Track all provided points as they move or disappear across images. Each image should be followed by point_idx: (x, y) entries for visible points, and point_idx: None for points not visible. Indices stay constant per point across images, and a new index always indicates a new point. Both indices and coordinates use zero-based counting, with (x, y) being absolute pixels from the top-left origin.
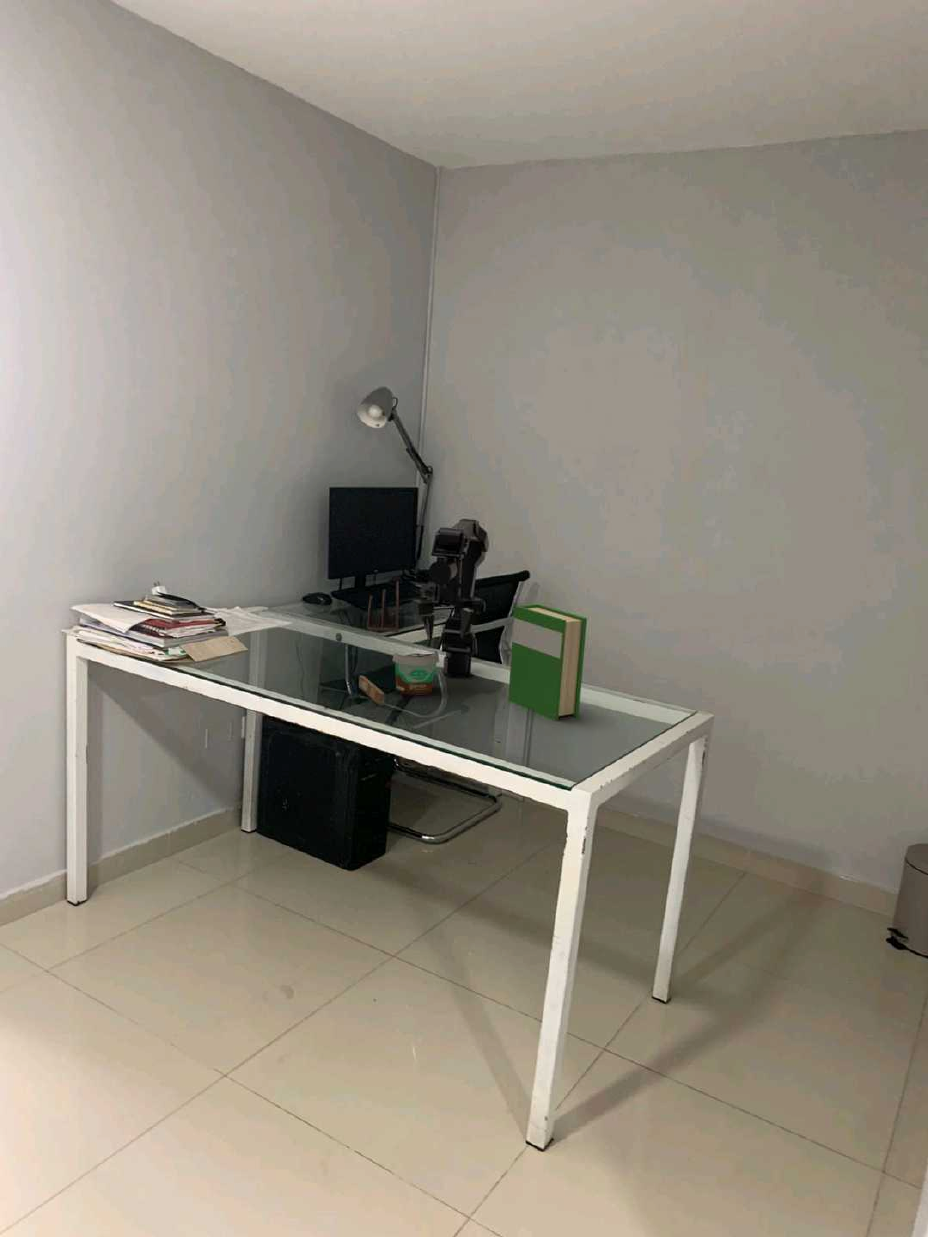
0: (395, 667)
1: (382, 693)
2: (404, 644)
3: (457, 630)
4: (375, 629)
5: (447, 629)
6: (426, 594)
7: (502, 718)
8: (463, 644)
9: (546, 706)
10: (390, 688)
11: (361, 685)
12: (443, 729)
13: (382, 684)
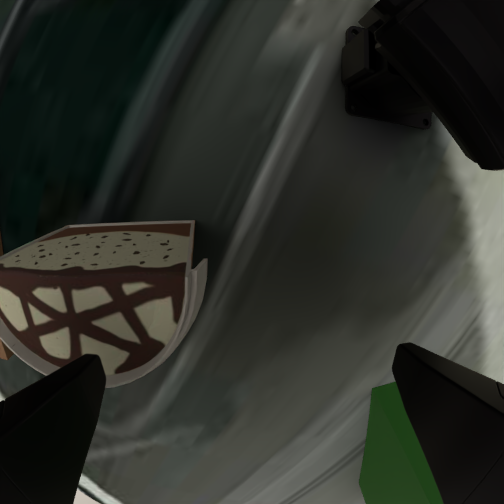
0: (12, 253)
1: (3, 357)
2: None
3: (496, 96)
4: None
5: (439, 26)
6: None
7: (271, 473)
8: (460, 146)
9: (366, 484)
10: (58, 189)
11: None
12: (129, 479)
13: (50, 136)
